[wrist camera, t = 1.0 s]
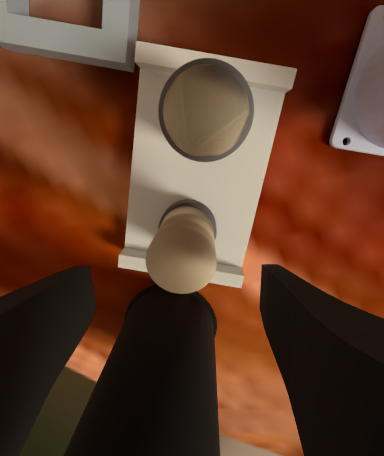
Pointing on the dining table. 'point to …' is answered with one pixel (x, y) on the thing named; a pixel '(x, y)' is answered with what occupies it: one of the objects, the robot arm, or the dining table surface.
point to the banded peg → (183, 248)
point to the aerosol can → (156, 383)
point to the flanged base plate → (199, 171)
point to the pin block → (74, 35)
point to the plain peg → (206, 110)
